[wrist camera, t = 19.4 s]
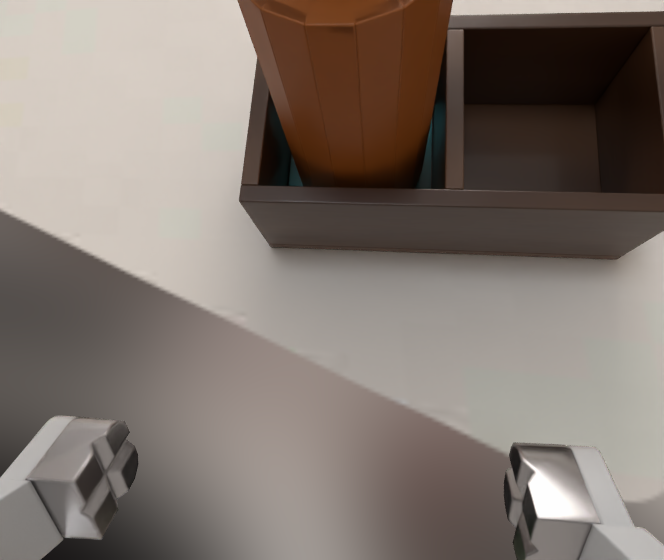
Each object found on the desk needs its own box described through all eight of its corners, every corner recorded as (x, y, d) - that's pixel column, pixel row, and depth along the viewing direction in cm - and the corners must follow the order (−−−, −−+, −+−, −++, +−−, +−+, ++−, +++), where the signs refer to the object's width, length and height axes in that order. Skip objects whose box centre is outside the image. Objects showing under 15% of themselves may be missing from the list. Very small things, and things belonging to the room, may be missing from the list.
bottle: (419, 222, 22) (508, -193, 7) (293, 217, 23) (113, -171, 7) (423, 109, 24) (506, -443, 8) (305, 108, 24) (176, -404, 9)
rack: (616, 259, 22) (694, 212, 16) (270, 247, 23) (238, 201, 18) (603, 98, 24) (668, 10, 18) (286, 98, 25) (261, 18, 20)
